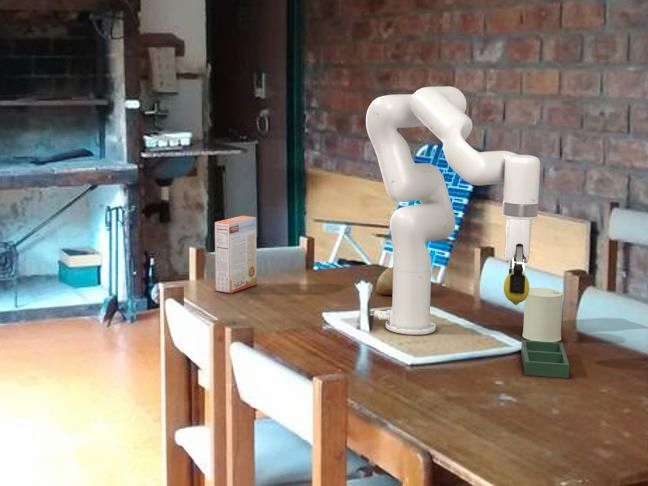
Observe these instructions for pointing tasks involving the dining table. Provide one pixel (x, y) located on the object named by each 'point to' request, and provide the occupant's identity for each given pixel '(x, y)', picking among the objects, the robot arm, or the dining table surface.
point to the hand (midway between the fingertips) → (516, 289)
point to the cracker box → (235, 254)
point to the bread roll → (385, 282)
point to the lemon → (513, 296)
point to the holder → (544, 359)
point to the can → (543, 315)
